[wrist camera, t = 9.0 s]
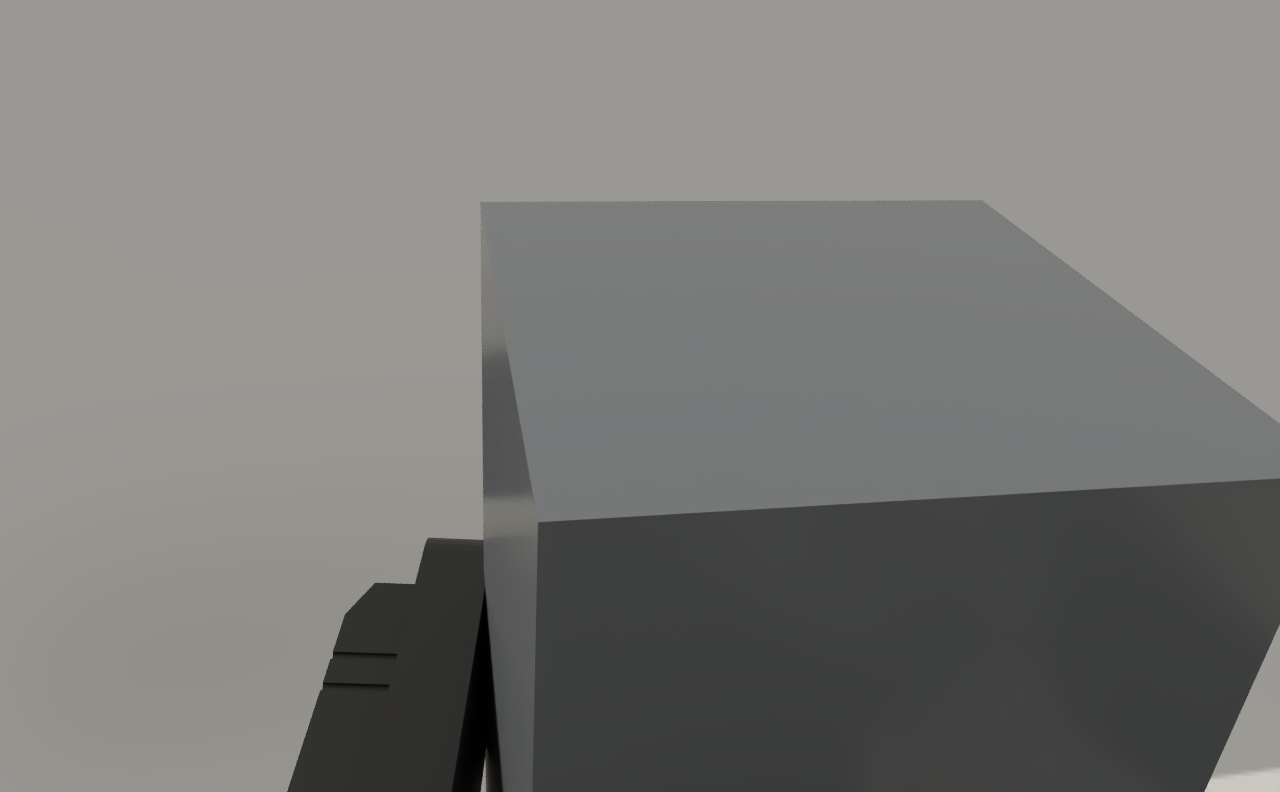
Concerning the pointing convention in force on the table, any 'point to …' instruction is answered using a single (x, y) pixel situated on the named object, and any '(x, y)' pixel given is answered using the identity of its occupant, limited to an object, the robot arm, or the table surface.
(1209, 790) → the table surface
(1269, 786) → the table surface
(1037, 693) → the basalt block
